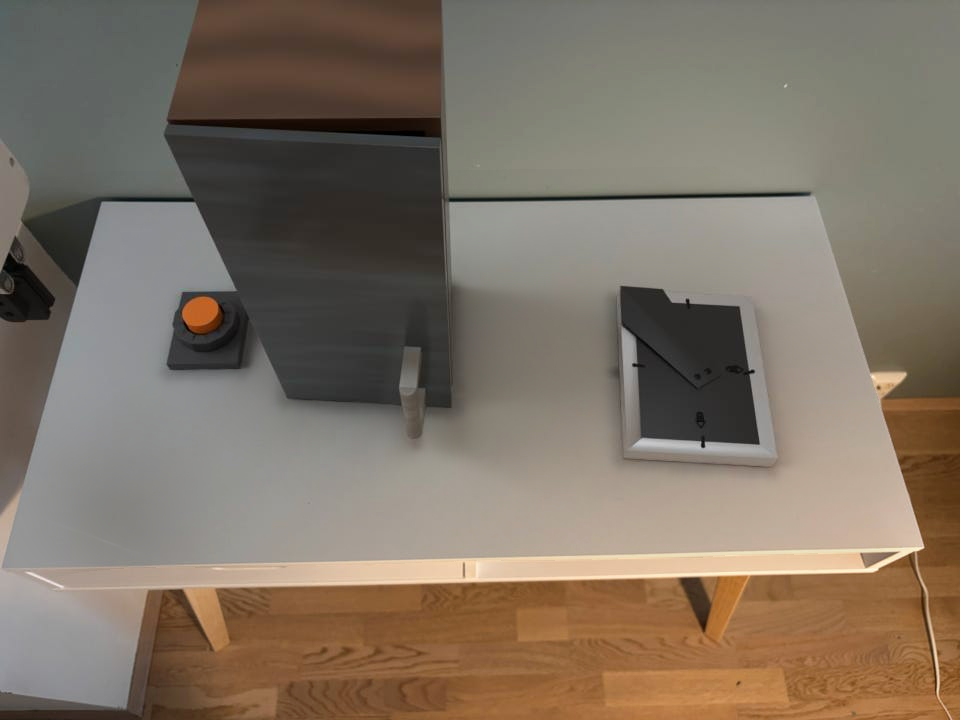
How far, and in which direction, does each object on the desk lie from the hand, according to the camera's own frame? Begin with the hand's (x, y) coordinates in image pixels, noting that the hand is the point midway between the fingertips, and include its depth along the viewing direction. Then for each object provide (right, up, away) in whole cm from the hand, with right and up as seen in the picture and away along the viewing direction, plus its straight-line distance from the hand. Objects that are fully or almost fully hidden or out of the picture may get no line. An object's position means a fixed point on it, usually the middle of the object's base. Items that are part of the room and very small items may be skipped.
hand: (30, 310), depth 50 cm
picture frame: (+54, -6, +34) cm, 64 cm away
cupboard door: (+18, -10, +30) cm, 37 cm away
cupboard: (+18, 0, +36) cm, 40 cm away
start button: (-1, +1, +34) cm, 34 cm away
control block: (-1, 0, +36) cm, 36 cm away
